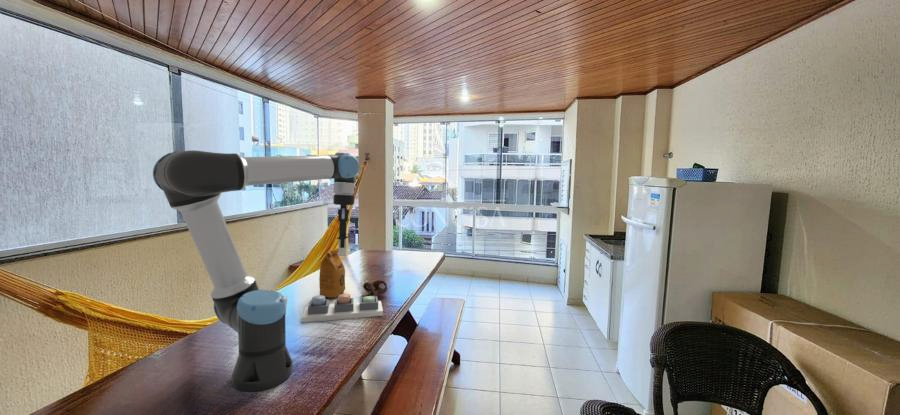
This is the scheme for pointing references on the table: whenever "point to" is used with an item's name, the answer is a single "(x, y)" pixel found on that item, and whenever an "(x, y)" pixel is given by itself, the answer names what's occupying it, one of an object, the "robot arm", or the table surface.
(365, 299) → the sage button
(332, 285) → the coffee package
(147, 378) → the table surface
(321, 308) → the button panel
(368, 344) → the table surface
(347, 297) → the terracotta button
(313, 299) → the slate button
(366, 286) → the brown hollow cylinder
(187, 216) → the robot arm
